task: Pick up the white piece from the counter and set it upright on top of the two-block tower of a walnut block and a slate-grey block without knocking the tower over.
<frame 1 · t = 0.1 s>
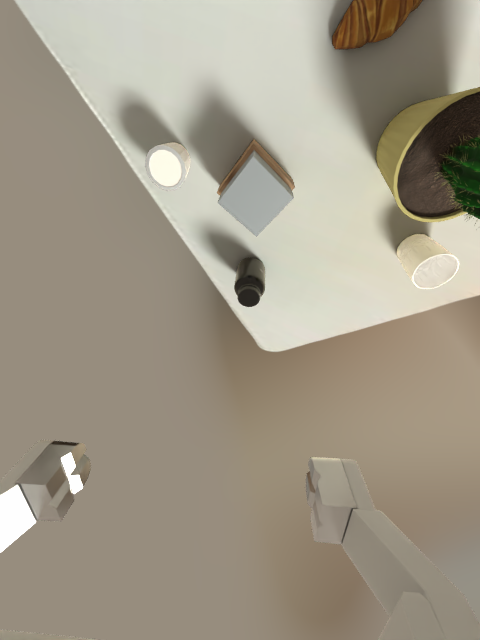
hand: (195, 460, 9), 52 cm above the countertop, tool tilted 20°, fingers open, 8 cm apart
bottom block: (255, 182, 51), on the countertop, touching top block
white piece: (176, 159, 49), on the countertop
supplement bottle: (250, 268, 64), on the countertop
potted cactus: (410, 143, 45), on the countertop
white cup: (412, 247, 58), on the countertop
croissant: (379, 7, 35), on the countertop
top block: (255, 191, 47), point 5 cm above the countertop, touching bottom block
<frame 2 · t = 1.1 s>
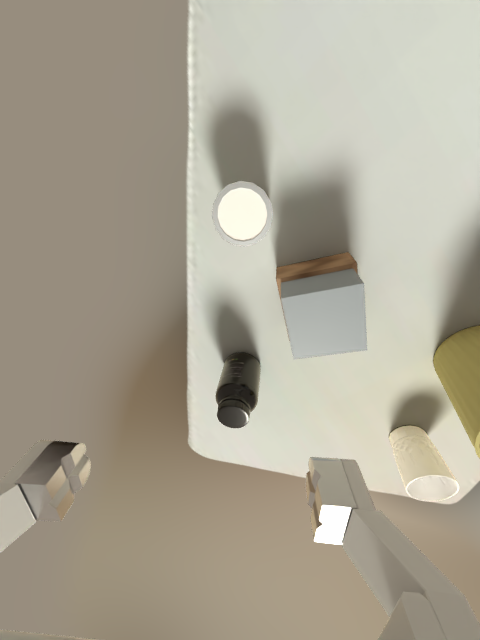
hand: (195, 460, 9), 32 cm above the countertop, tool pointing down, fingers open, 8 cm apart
bottom block: (315, 290, 40), on the countertop
white piece: (248, 207, 35), on the countertop
supplement bottle: (242, 364, 49), on the countertop
potted cactus: (471, 354, 41), on the countertop
white cup: (406, 435, 52), on the countertop
top block: (319, 306, 35), point 5 cm above the countertop
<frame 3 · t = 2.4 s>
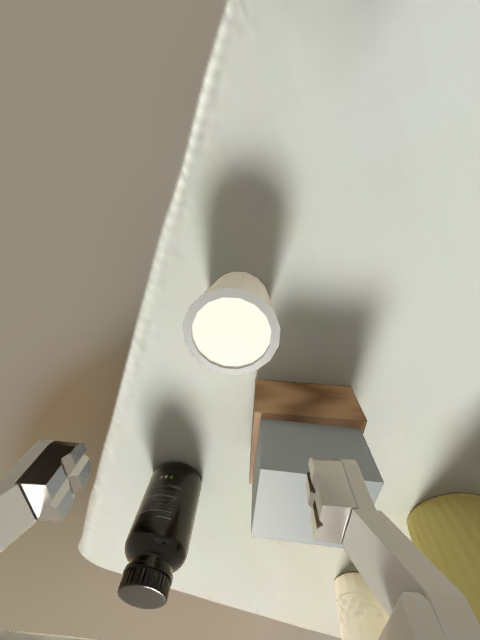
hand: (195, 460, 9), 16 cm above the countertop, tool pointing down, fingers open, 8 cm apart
bottom block: (296, 416, 30), on the countertop
white piece: (238, 300, 25), on the countertop
supplement bottle: (178, 475, 36), on the countertop
potted cactus: (449, 517, 35), on the countertop
white cup: (354, 580, 44), on the countertop
top block: (302, 457, 26), point 5 cm above the countertop
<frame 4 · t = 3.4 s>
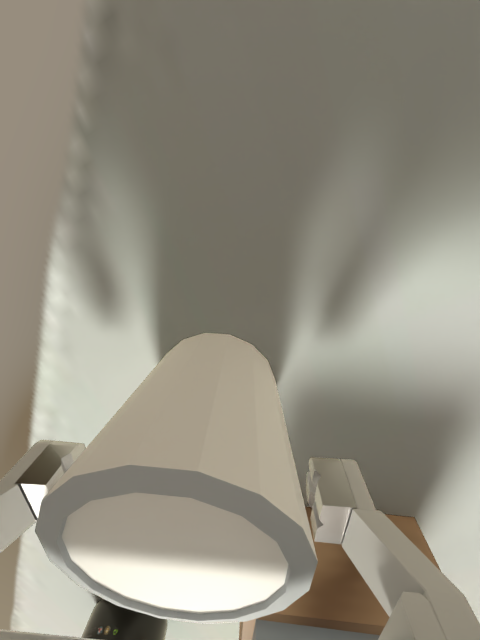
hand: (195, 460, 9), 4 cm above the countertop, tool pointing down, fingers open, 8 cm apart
bottom block: (316, 548, 18), on the countertop, touching top block
white piece: (217, 381, 13), on the countertop
supplement bottle: (134, 606, 24), on the countertop
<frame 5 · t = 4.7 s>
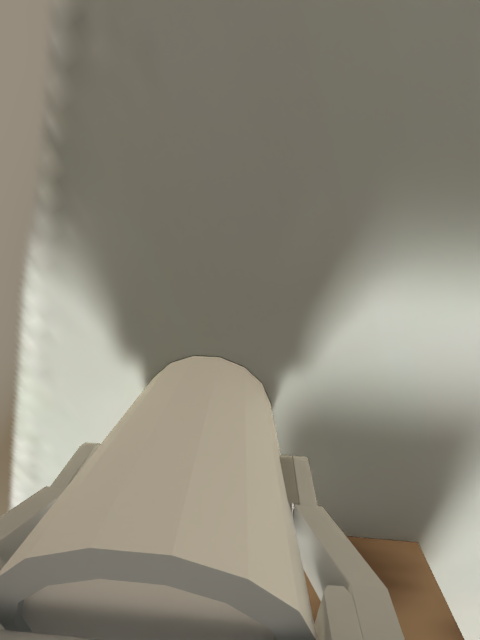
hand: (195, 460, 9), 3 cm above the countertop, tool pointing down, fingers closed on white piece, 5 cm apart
bottom block: (315, 572, 17), on the countertop, touching top block
white piece: (209, 405, 12), on the countertop, touching gripper
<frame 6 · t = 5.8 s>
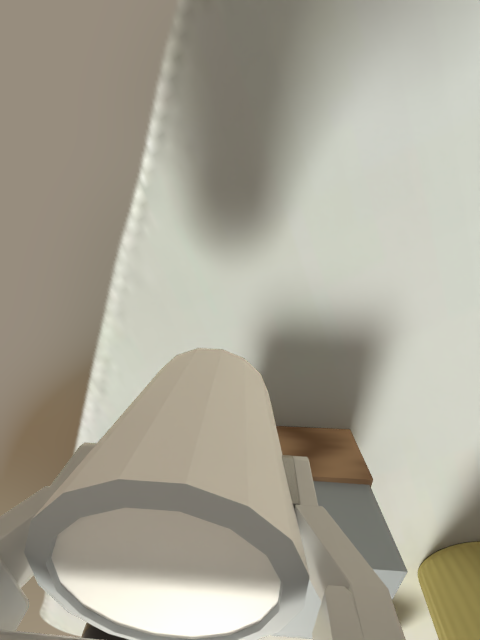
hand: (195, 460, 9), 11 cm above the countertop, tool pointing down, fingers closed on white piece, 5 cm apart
bottom block: (288, 463, 26), on the countertop
white piece: (211, 396, 13), point 8 cm above the countertop, touching gripper
supplement bottle: (153, 532, 30), on the countertop
potted cactus: (465, 567, 31), on the countertop
top block: (299, 518, 21), point 5 cm above the countertop
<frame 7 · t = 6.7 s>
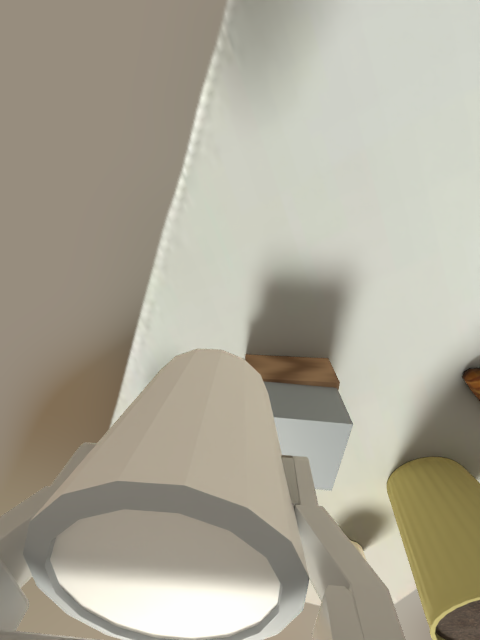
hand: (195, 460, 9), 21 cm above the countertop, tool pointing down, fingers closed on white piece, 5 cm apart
bottom block: (282, 388, 34), on the countertop, touching top block
white piece: (211, 397, 13), point 17 cm above the countertop, touching gripper
potted cactus: (424, 481, 39), on the countertop
top block: (288, 416, 29), point 5 cm above the countertop, touching bottom block
when the fingers open (14 cm above the countertop, at t = 9.6 s): white piece stays where it is, resting on top block.
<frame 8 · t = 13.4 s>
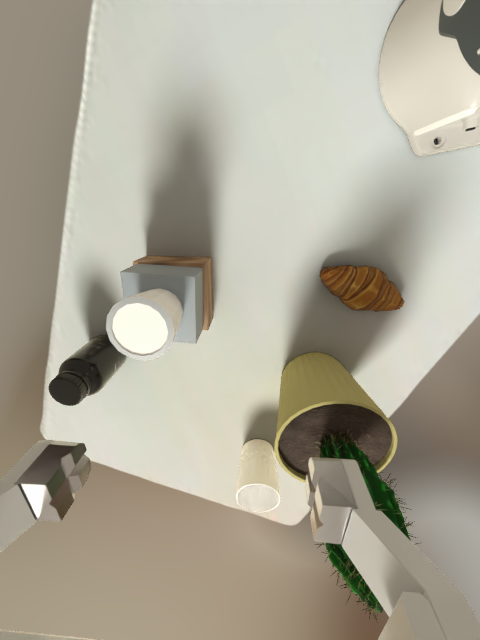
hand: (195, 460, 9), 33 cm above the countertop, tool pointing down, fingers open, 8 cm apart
bottom block: (181, 287, 42), on the countertop, touching top block
white piece: (161, 310, 33), point 10 cm above the countertop, touching top block
supplement bottle: (110, 349, 47), on the countertop
potted cactus: (312, 378, 47), on the countertop
white cup: (257, 449, 55), on the countertop
croissant: (358, 285, 40), on the countertop
top block: (172, 296, 37), point 5 cm above the countertop, touching bottom block, white piece
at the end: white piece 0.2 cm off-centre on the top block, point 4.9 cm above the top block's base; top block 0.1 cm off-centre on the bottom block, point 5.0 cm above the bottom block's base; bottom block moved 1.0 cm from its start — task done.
